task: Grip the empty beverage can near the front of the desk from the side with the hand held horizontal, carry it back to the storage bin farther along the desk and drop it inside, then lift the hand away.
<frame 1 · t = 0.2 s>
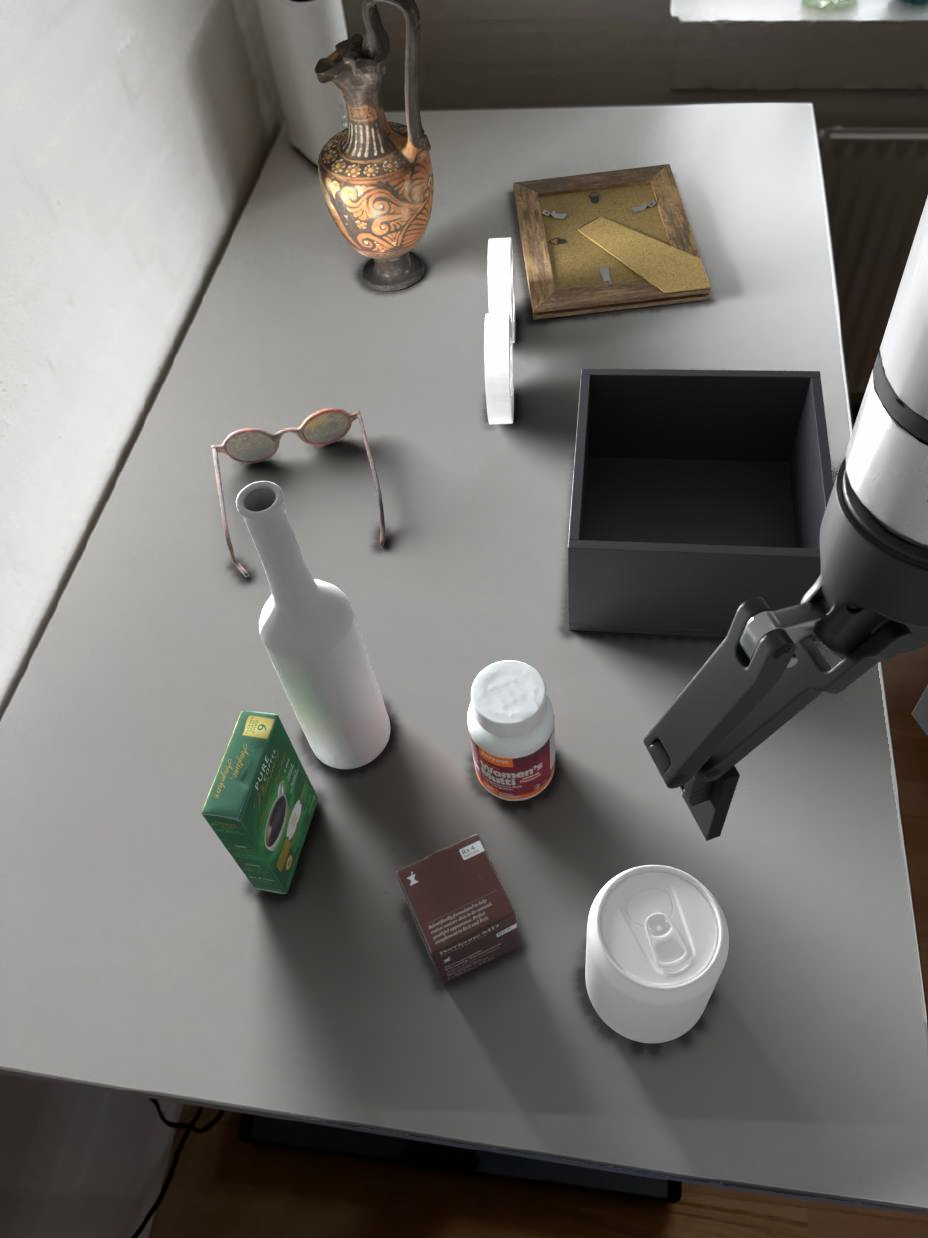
hand: (818, 773, 51), 20 cm above the table, tool pointing down, fingers open, 13 cm apart
eyeglasses: (304, 505, 93), on the table
coffee box: (288, 842, 74), on the table
storage bin: (687, 542, 86), on the table
vase: (397, 275, 112), on the table
letter: (503, 370, 101), on the table
picture frame: (605, 245, 111), on the table
beverage can: (645, 981, 66), on the table
box: (464, 927, 69), on the table
pill bottle: (515, 767, 76), on the table
bottle: (350, 733, 79), on the table
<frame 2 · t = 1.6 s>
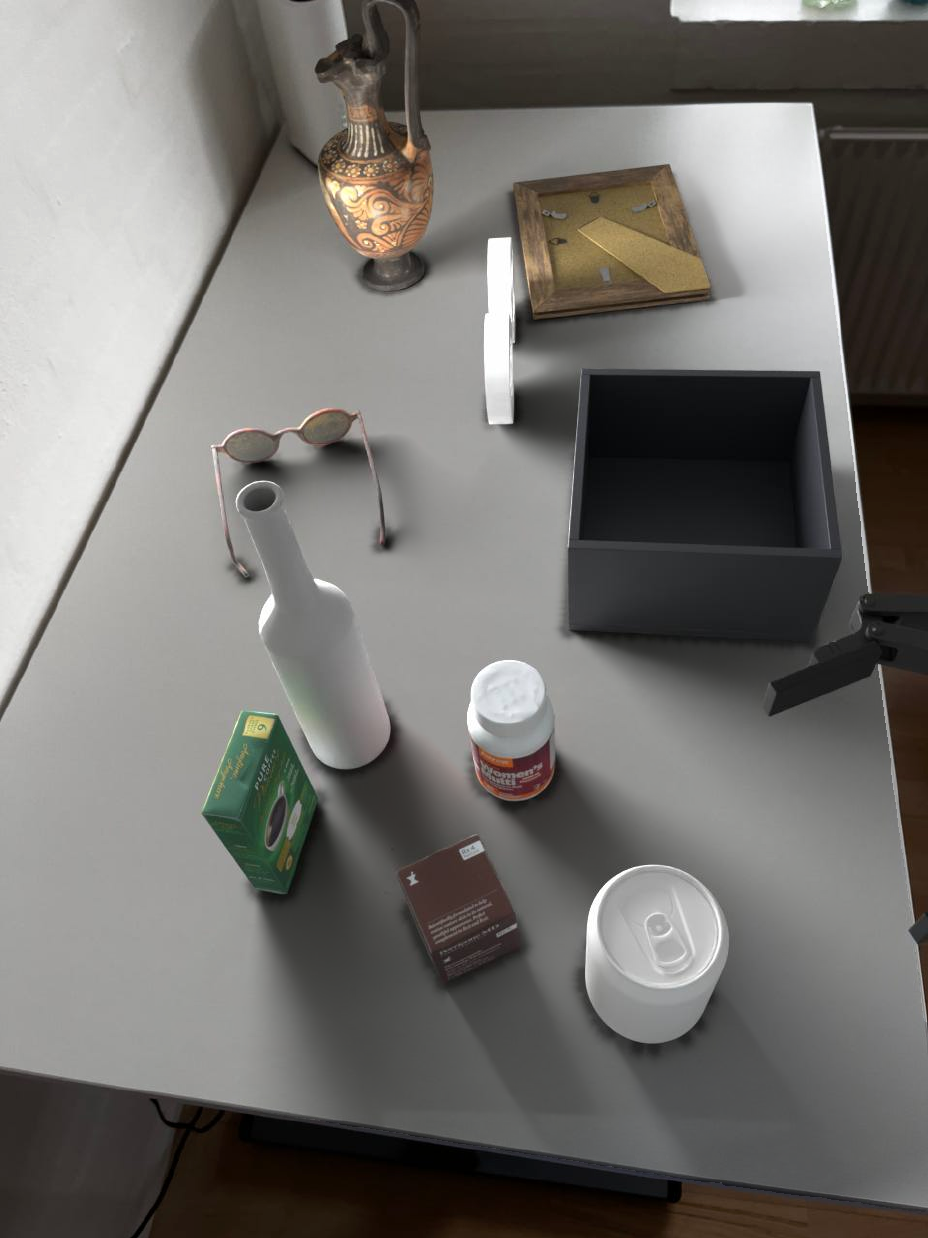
hand: (838, 806, 50), 20 cm above the table, tool horizontal, fingers open, 13 cm apart
nothing on the table moved.
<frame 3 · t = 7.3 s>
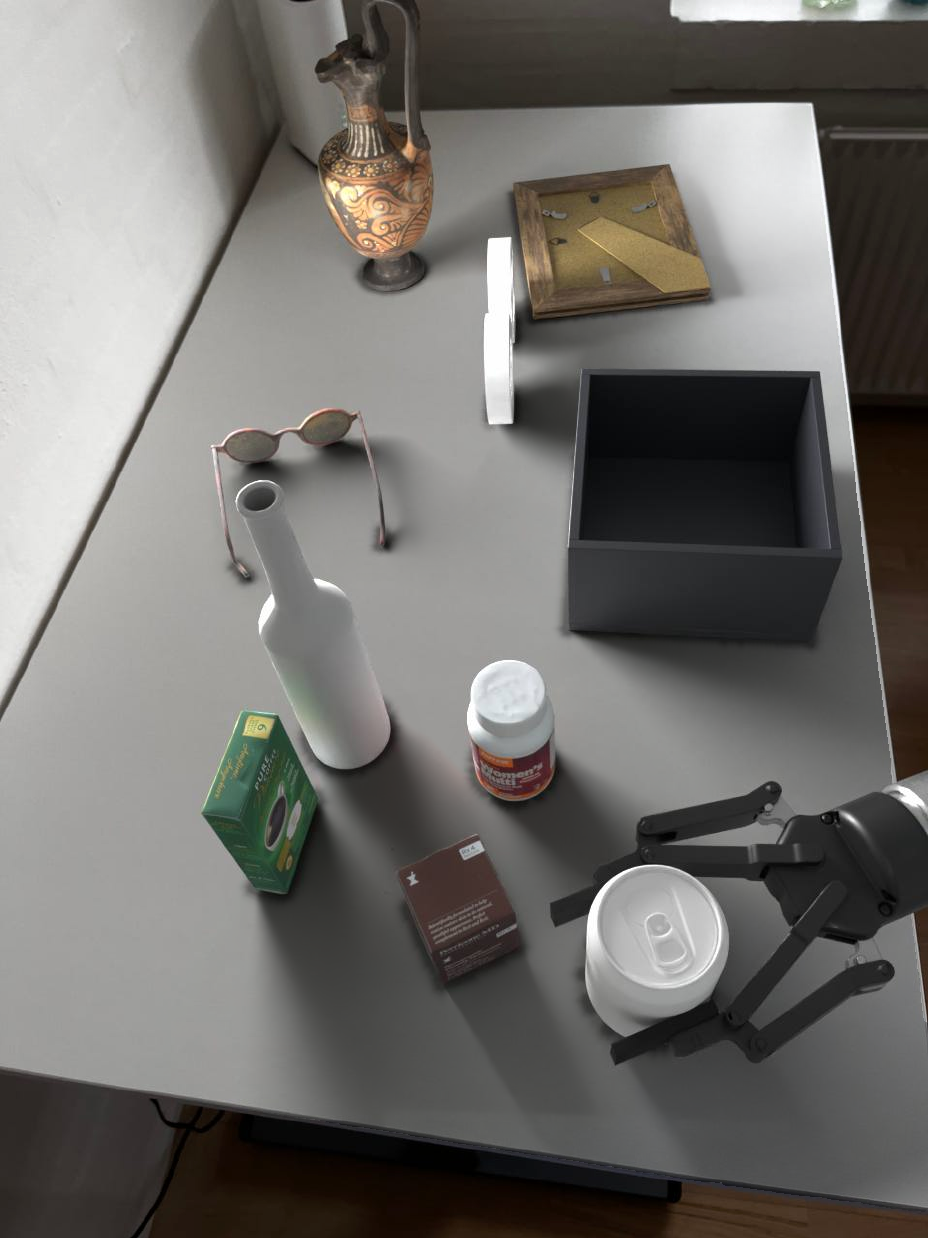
hand: (581, 982, 60), 7 cm above the table, tool horizontal, fingers closed on beverage can, 8 cm apart
beverage can: (646, 981, 66), on the table, touching gripper
everything else where it was.
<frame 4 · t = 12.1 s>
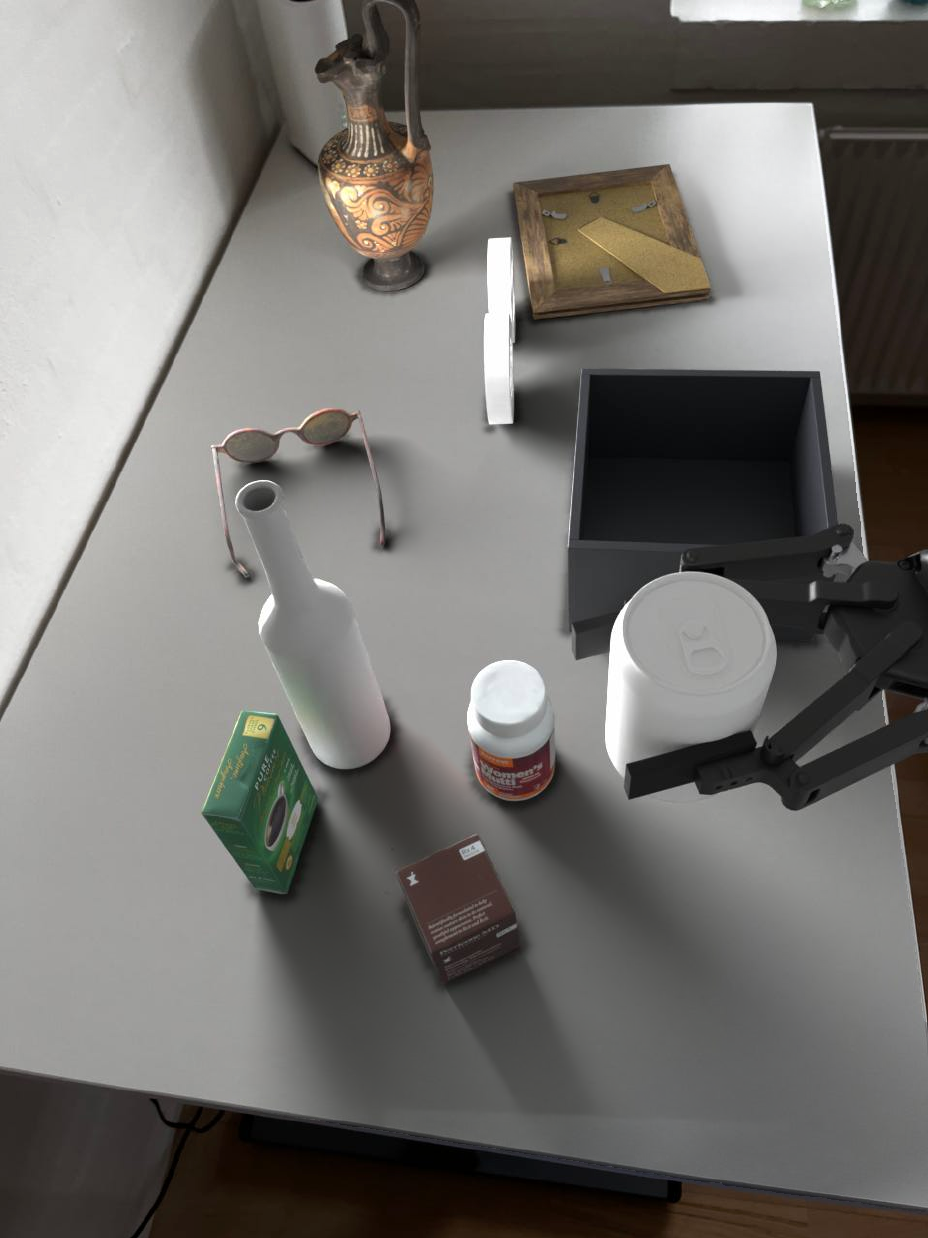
hand: (599, 708, 52), 23 cm above the table, tool horizontal, fingers closed on beverage can, 8 cm apart
beverage can: (674, 745, 58), point 16 cm above the table, touching gripper
everything else where it was.
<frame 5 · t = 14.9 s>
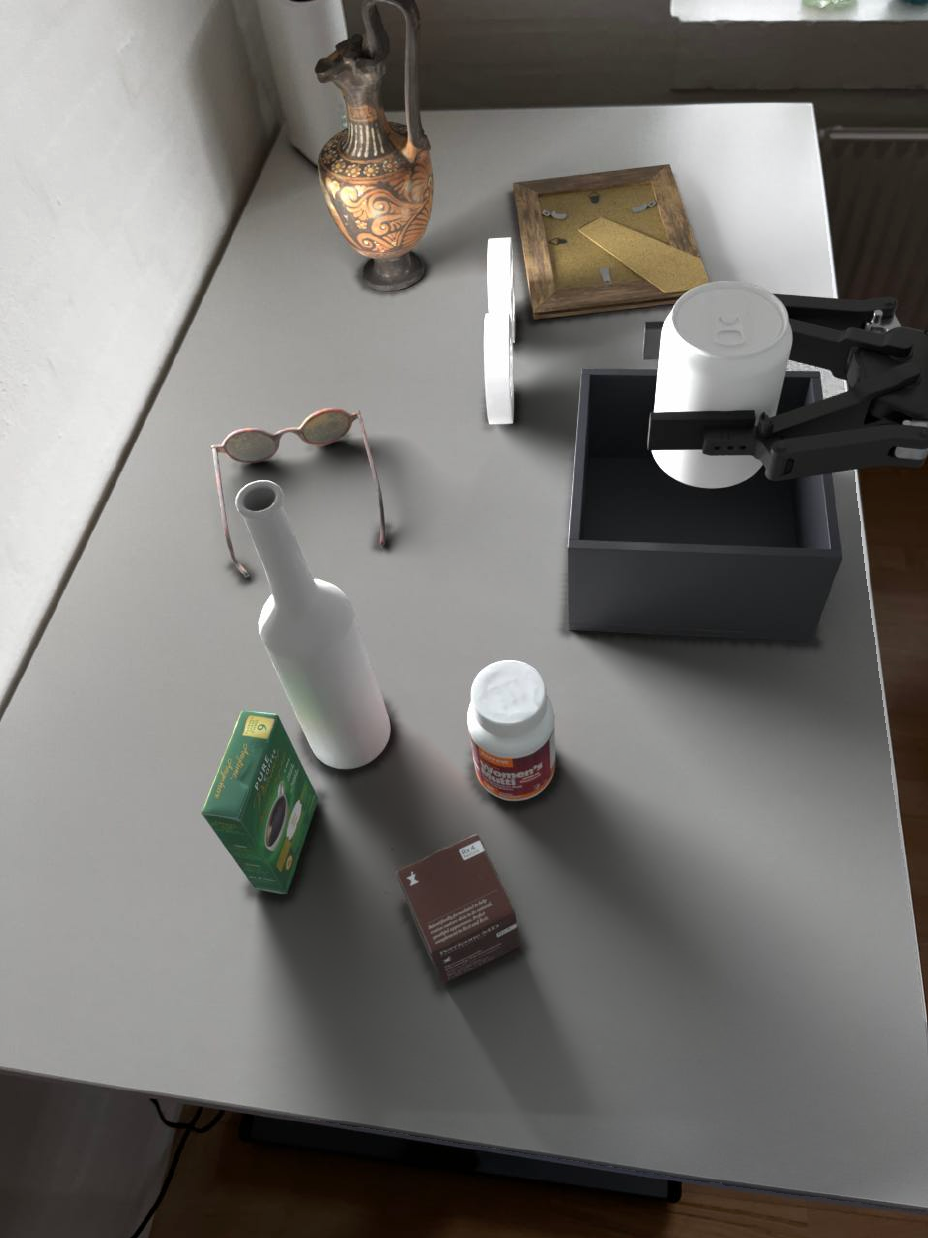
hand: (646, 384, 66), 22 cm above the table, tool horizontal, fingers closed on beverage can, 8 cm apart
beverage can: (707, 454, 71), point 15 cm above the table, touching gripper
everything else where it was.
when the fingers open (18 cm above the table, at t = 17.0 s): beverage can drops 10 cm, resting on storage bin.
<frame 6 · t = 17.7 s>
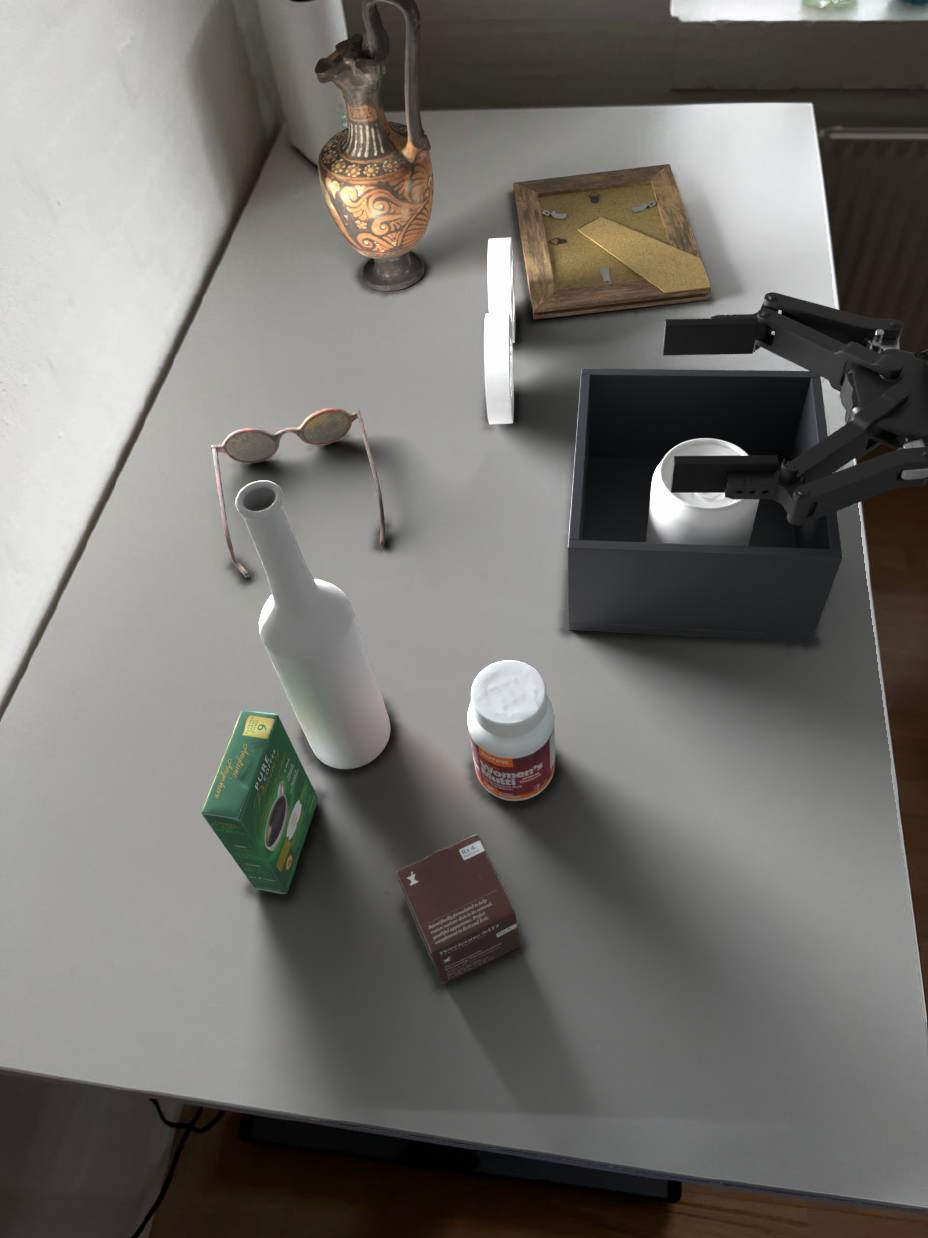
hand: (667, 402, 68), 20 cm above the table, tool horizontal, fingers open, 13 cm apart
beverage can: (691, 571, 83), point 1 cm above the table, touching storage bin
everything else where it was.
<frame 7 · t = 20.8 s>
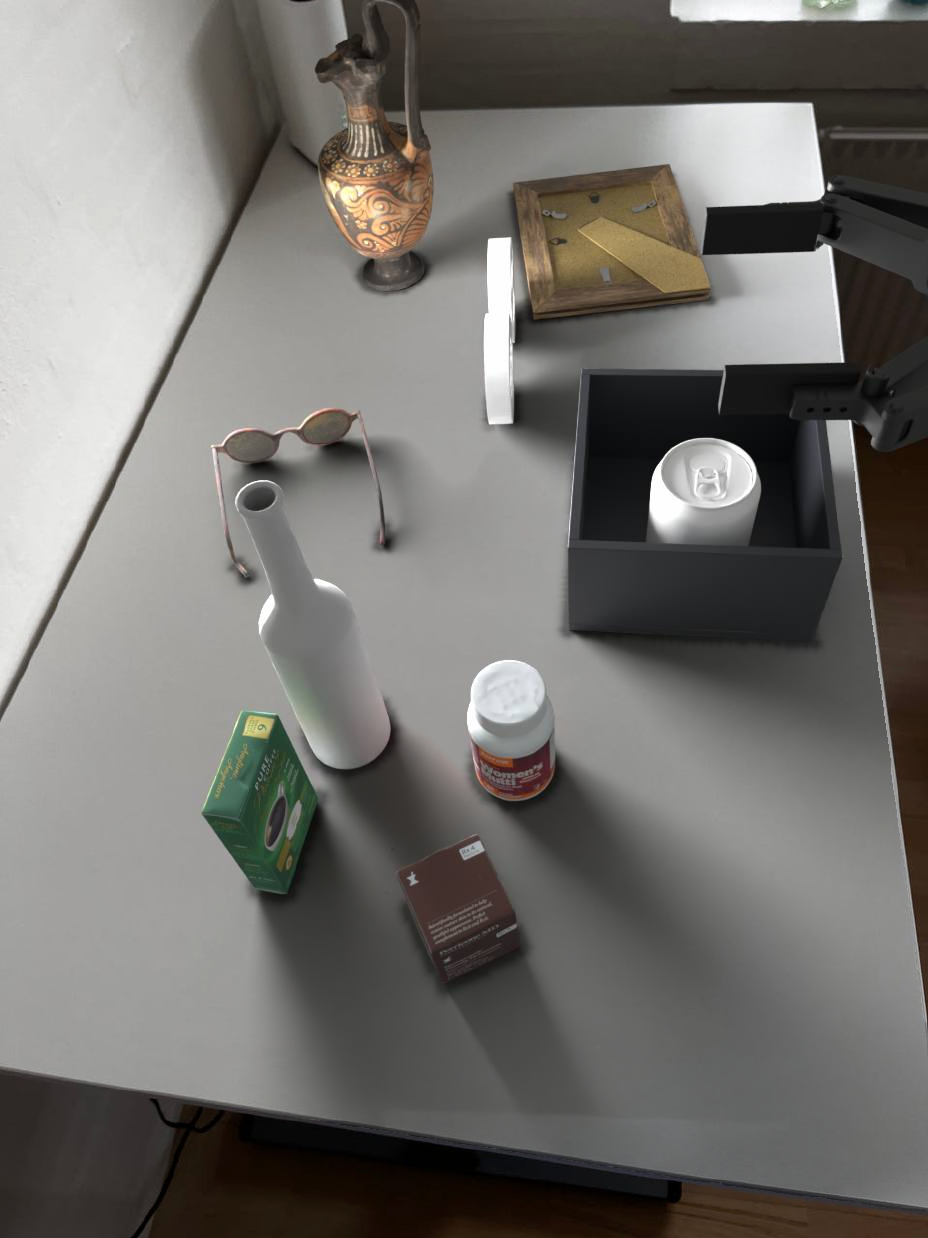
hand: (711, 305, 54), 33 cm above the table, tool horizontal, fingers open, 13 cm apart
nothing on the table moved.
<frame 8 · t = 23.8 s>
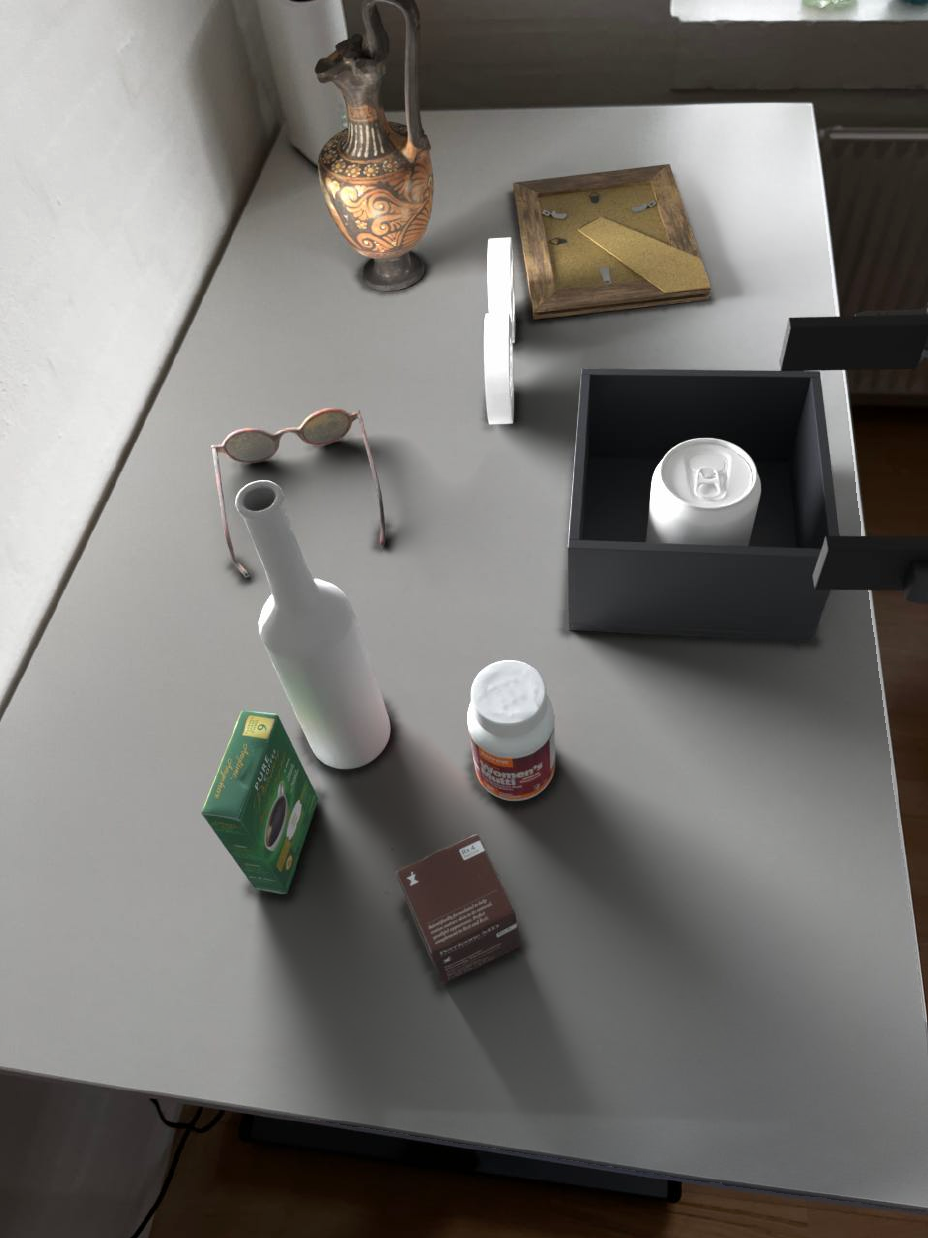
hand: (799, 444, 45), 35 cm above the table, tool horizontal, fingers open, 13 cm apart
nothing on the table moved.
at the end: beverage can inside the target area in the storage bin (3.7 cm from its centre), point 0.8 cm above the storage bin's base; the gripper is holding nothing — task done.
